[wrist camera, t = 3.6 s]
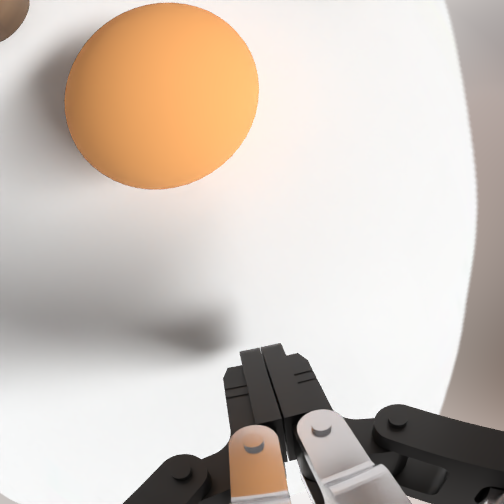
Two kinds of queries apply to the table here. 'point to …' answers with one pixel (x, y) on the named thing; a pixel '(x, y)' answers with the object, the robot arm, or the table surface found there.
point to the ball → (161, 96)
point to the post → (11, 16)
